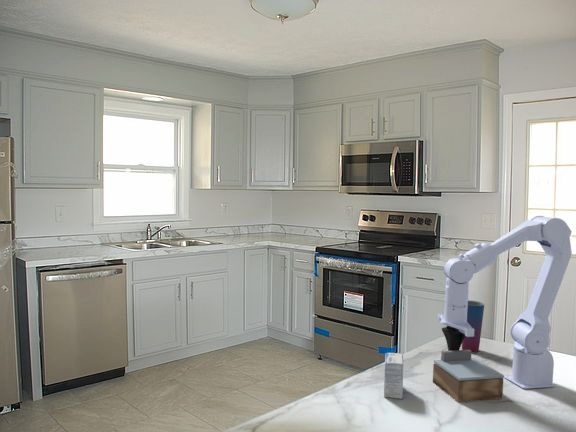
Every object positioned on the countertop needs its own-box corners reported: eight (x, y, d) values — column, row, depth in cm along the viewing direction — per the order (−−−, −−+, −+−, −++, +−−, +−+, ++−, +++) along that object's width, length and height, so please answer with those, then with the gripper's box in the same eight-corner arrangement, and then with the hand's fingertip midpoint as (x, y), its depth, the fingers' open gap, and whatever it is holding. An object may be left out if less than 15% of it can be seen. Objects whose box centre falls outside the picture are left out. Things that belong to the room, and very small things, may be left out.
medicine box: (402, 399, 120) (404, 364, 119) (383, 397, 121) (384, 362, 120) (401, 386, 127) (403, 353, 127) (383, 384, 128) (385, 351, 128)
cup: (460, 352, 155) (463, 304, 154) (457, 345, 162) (459, 299, 161) (483, 354, 154) (486, 306, 153) (479, 347, 160) (481, 301, 159)
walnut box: (473, 379, 133) (474, 361, 133) (502, 398, 122) (503, 378, 121) (432, 382, 131) (433, 363, 130) (457, 402, 119) (458, 381, 119)
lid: (475, 360, 133) (475, 349, 133) (503, 377, 121) (504, 365, 121) (433, 362, 130) (434, 351, 130) (459, 380, 119) (459, 368, 118)
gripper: (428, 298, 138) (426, 346, 138) (457, 312, 123) (454, 366, 124) (451, 297, 139) (449, 345, 140) (482, 311, 125) (479, 364, 126)
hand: (453, 355), depth 132 cm, fingers closed
